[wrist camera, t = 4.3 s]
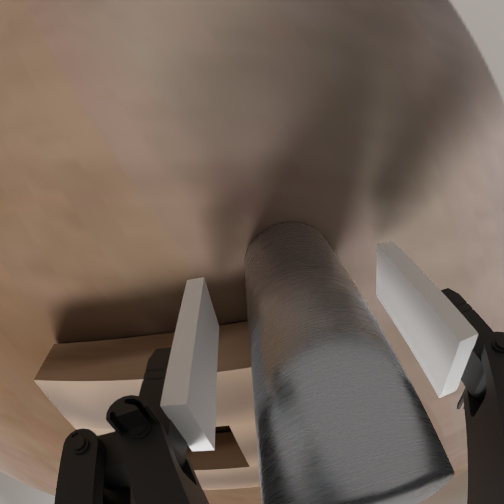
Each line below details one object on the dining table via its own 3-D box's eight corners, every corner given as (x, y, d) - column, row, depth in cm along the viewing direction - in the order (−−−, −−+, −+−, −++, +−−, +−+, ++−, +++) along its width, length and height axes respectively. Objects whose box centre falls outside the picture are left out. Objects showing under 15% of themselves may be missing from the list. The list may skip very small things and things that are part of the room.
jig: (54, 344, 17) (33, 379, 14) (295, 312, 17) (307, 356, 14) (145, 458, 24) (140, 487, 21) (310, 445, 24) (316, 477, 20)
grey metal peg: (236, 231, 14) (245, 512, 4) (328, 214, 14) (483, 441, 4) (253, 307, 16) (276, 543, 6) (333, 292, 16) (424, 505, 5)
